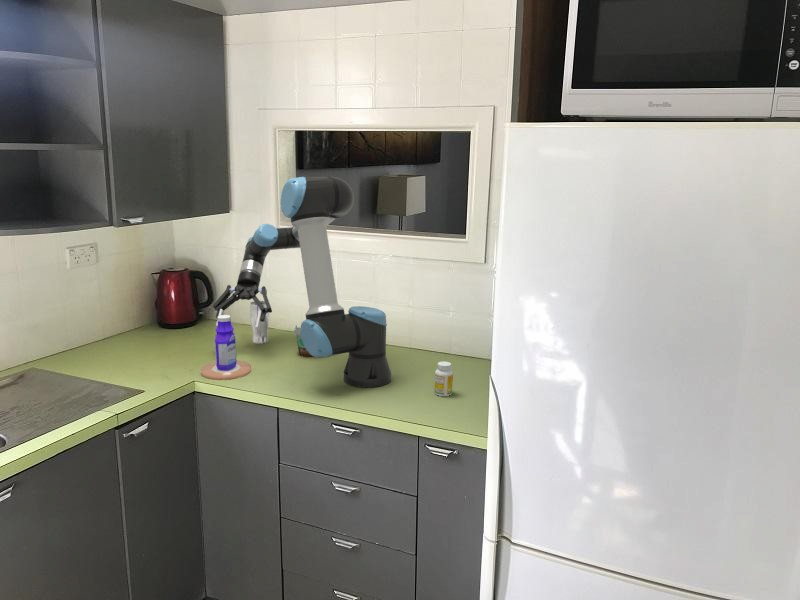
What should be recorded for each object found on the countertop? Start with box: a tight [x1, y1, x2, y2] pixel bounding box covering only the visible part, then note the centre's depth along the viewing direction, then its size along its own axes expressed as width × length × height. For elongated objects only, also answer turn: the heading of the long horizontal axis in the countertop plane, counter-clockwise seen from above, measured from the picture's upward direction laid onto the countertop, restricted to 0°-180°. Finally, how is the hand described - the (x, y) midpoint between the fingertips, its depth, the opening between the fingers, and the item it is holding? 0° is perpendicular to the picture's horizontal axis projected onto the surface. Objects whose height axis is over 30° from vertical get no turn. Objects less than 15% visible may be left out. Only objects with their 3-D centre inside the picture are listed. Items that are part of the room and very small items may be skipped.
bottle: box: [214, 314, 237, 371], centre depth 211 cm, size 7×6×17 cm
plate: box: [200, 359, 252, 381], centre depth 213 cm, size 16×16×1 cm
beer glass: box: [249, 300, 270, 345], centre depth 243 cm, size 7×7×15 cm
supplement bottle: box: [433, 361, 454, 397], centre depth 196 cm, size 5×5×10 cm
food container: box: [293, 324, 315, 358], centre depth 228 cm, size 12×6×10 cm, turn 80°
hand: (237, 328), depth 221 cm, fingers open, 13 cm apart
